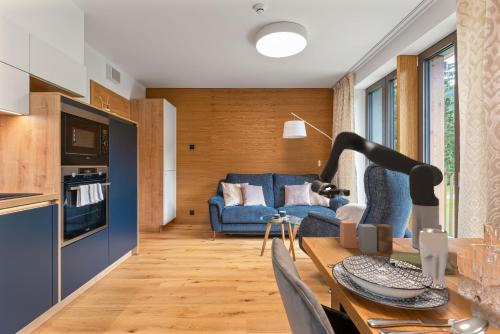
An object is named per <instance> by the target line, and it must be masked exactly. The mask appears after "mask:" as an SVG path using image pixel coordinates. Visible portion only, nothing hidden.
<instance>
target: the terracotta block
mask: <svg viewBox="0 0 500 334" xmlns="http://www.w3.org/2000/svg"><path fill="white" fill-rule="evenodd" d="M339 245H340V246H341V247H342V248H343V249H357V223H356V222H355V221H353V220H339Z"/></svg>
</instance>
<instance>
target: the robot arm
mask: <svg viewBox="0 0 500 334" xmlns="http://www.w3.org/2000/svg"><path fill="white" fill-rule="evenodd" d="M345 150H347V151H351V150H352V151H355V152H357V153H360V154H362V155H363V156H364V157H366V159H367V160H368V161H370V162H371V163H372V164H374V165H377V166H378V167H380V168H383V169H386V170H388V171H393V172H398V173H401V174H404V175H407V176H408V185H409V196H410V199H411V235H412V236H411V239H412V240H411V245H412V247H413V248H415V249H418V237H419V229H421V228H433V229H440V230H443V226H442V224H440V198H438V197H437V195H436V193H435V187H437V186H439V185H441V183H442V182H443V180H444V174H443V172H442V170H441V169H440V168H439V167H437V166H435V165H433V164H431V163H426V162H423V161H420V160H416V159H414V158H411V157H409V156H407V155H405V154H403V153H401V152H399V151H397V150H395V149H393V148H390V147H388V146H386V145H384V144H380V143H377V142H374V141H371V140H368V139H366V138H365V137H363V136H361V135H360V134H358V133H356V132H353V131H345V130H344V131H340V132H338V133H337V134H336V136H335V139H334V140H333V144H332V147H331V150H330V152H329V153H330V154H329V156H328V159H327V161H326V163H325V165H324V167H323V169H322V171H321V172H320V175H319V178H320V179H321V180H322V181H320V180H318V179H317V180H314V181H312V182H311V184H310V190H311V192H312V193H314V194H317V195H318V196H320V197H321V196H322V197H324V198H326V199H329V200H333V199H335V198H337V197H349V196H351V189H346V188H344V189H343V188H338V187H337V185H336V184H334V183H332V181H333V180H334V178H335V176H336V174H337V172H338V170H339V164H340V163H339V162H340V161H339V160H340V157H341V154H342V153H343V152H344V151H345Z"/></svg>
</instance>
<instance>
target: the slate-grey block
mask: <svg viewBox="0 0 500 334" xmlns="http://www.w3.org/2000/svg"><path fill="white" fill-rule="evenodd" d="M357 232H358V233H357V234H358V236H357V238H358V240H357V241H358V243H357V244H358V245H357V246H358V249H357V250H358V251H360V252H362V254H378V252H377V227H376V226H374V225H373V224H371V223H358V224H357Z"/></svg>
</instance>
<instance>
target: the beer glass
mask: <svg viewBox="0 0 500 334" xmlns="http://www.w3.org/2000/svg"><path fill="white" fill-rule="evenodd" d="M448 237H449V236H448V231H446V230H444V229H442V230H440V229H433V228H421V229H419V237H418V253H419V256H420V261H421V266H422V271H421V275H422V274H423V275H425V276H429V277H431V278H432V279H433V284H441V285H443V286H444V287H446V288H447V287H448V285H447V283H446V282H447V281H446V277H445V276H446V274H445V267H446V263H447V258H449V257H448V256H449V238H448Z"/></svg>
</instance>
